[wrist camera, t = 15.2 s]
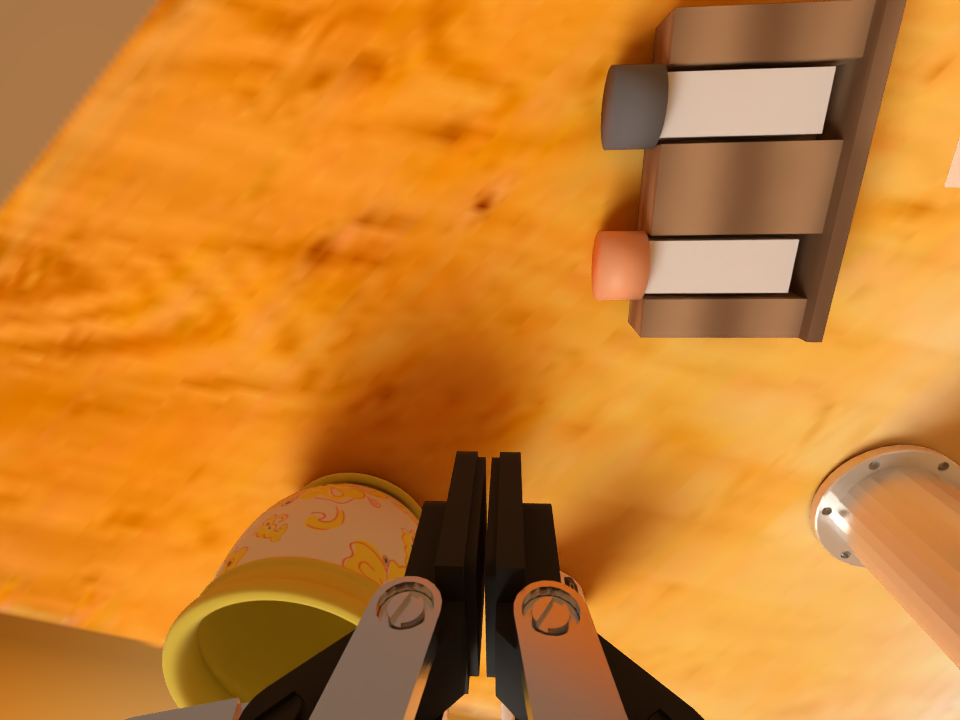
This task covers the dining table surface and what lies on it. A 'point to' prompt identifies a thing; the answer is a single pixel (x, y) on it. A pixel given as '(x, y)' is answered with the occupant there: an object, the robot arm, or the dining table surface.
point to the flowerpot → (290, 587)
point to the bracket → (954, 170)
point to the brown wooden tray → (767, 161)
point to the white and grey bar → (711, 104)
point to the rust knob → (689, 264)
